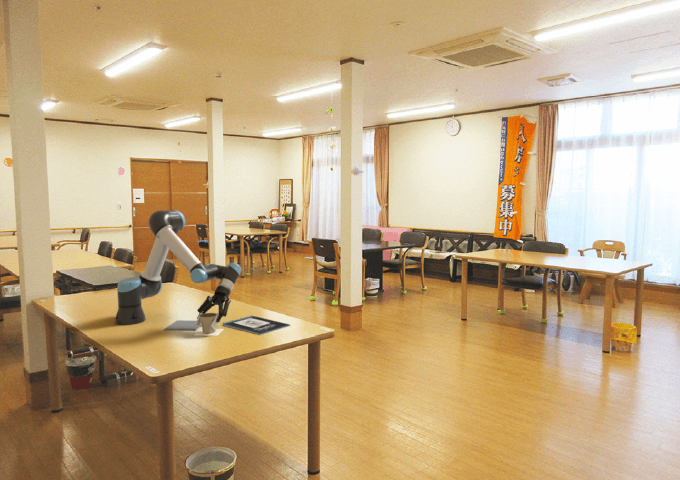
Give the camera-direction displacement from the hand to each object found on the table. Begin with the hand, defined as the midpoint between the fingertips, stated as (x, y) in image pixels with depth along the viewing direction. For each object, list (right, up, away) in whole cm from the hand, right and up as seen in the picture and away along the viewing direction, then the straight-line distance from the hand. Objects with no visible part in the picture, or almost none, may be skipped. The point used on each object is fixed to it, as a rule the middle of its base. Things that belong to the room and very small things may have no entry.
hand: (204, 326), depth 227 cm
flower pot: (+1, -4, +3) cm, 5 cm away
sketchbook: (+23, -3, +16) cm, 28 cm away
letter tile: (+1, -4, +3) cm, 5 cm away
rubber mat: (-14, -3, +15) cm, 21 cm away
